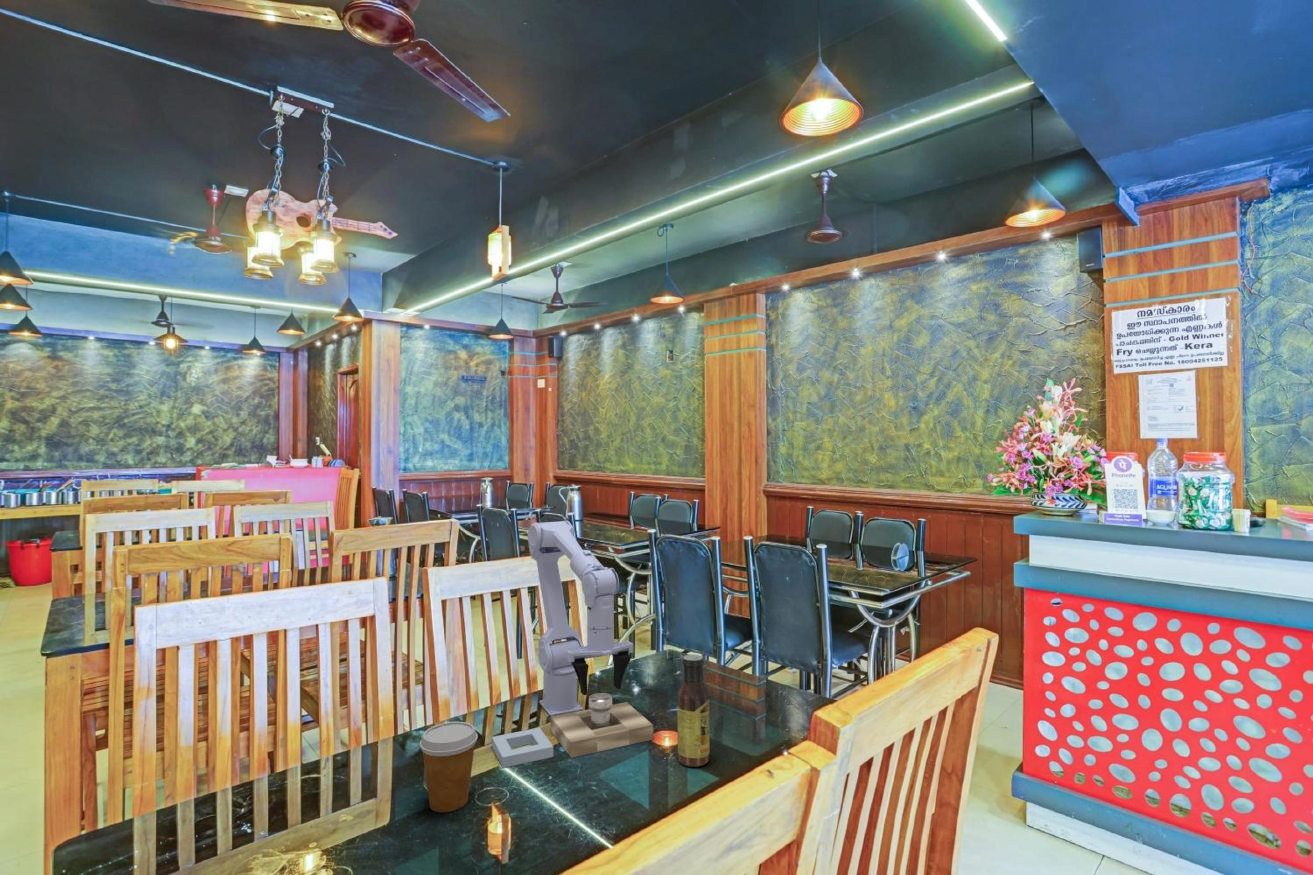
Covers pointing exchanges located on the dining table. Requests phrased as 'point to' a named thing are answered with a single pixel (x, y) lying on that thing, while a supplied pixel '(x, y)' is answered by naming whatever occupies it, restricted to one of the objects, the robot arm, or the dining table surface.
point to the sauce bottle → (693, 715)
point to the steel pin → (600, 710)
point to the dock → (600, 730)
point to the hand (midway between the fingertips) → (600, 690)
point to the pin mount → (522, 755)
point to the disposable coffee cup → (448, 764)
